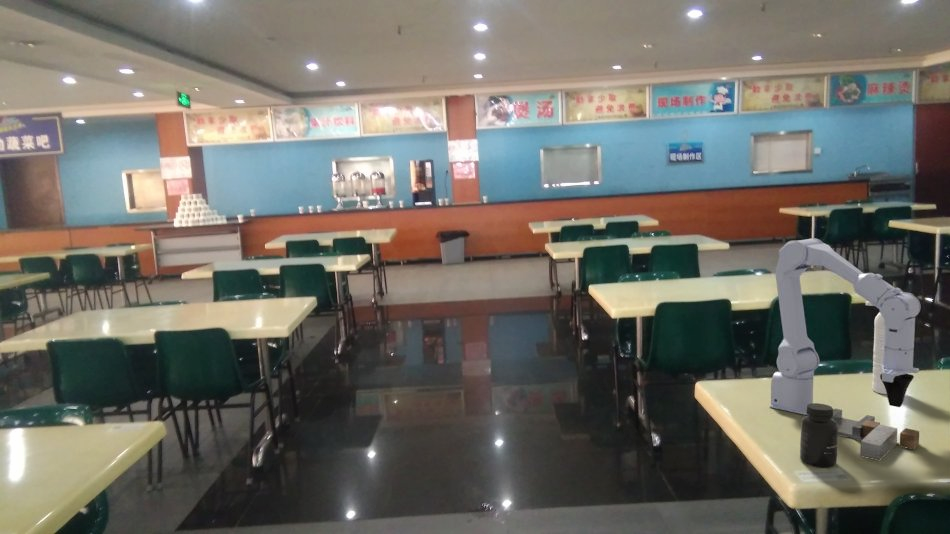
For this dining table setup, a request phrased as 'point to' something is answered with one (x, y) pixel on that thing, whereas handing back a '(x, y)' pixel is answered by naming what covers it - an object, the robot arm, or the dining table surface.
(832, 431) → the supplement bottle
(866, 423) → the wooden blocks
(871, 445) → the grey rectangular bar
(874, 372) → the water bottle
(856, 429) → the block
